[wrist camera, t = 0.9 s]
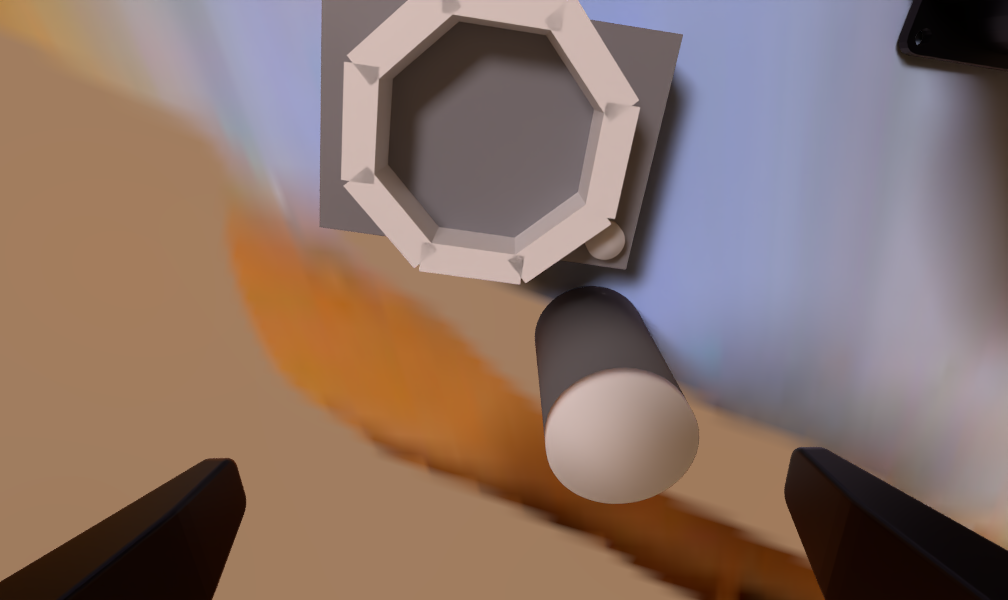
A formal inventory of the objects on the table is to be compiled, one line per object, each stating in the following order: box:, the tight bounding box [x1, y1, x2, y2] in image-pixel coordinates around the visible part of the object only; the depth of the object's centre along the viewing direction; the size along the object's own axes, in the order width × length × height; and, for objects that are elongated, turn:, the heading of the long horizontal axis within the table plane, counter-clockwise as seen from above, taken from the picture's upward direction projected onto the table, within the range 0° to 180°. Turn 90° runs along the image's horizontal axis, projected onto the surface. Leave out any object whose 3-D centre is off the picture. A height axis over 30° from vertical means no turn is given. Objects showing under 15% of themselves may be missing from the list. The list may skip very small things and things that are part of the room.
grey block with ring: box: [320, 0, 683, 285], centre depth 17 cm, size 10×8×5 cm
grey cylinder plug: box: [535, 286, 699, 504], centre depth 19 cm, size 4×4×7 cm
